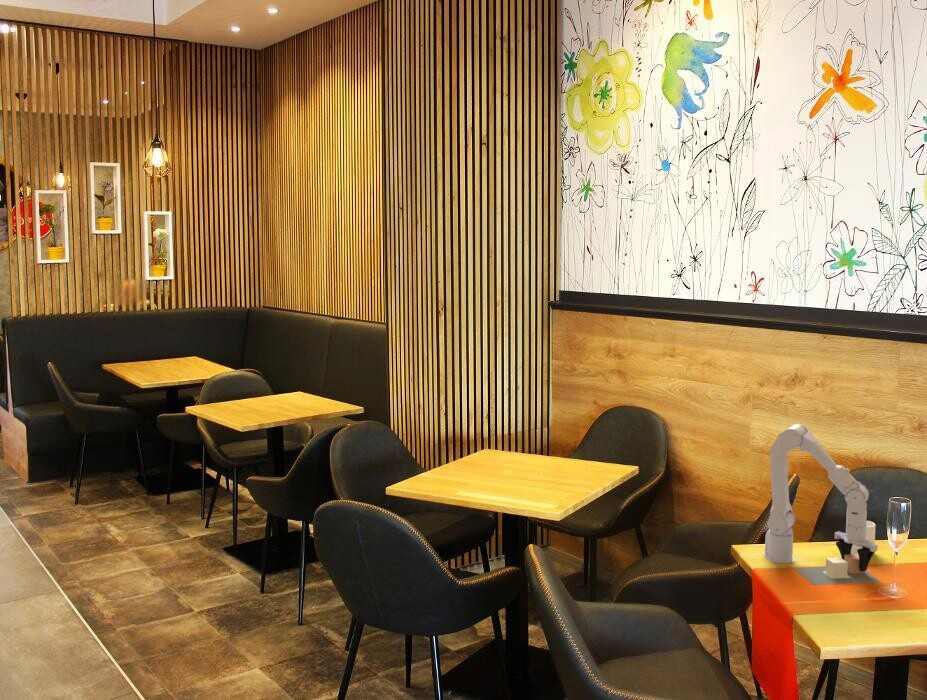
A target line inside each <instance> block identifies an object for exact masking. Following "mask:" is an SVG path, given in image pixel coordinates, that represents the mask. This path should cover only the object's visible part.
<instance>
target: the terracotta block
mask: <svg viewBox="0 0 927 700" xmlns="http://www.w3.org/2000/svg"><path fill="white" fill-rule="evenodd" d="M844 560H845V561H846V562H848V568H847V571H848V572H849V573H851V574H857V573H865V571H860V561H859V555H858V554H847V555H844Z"/></svg>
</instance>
